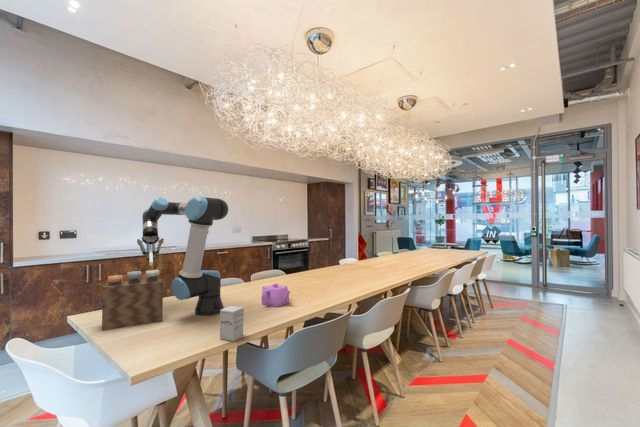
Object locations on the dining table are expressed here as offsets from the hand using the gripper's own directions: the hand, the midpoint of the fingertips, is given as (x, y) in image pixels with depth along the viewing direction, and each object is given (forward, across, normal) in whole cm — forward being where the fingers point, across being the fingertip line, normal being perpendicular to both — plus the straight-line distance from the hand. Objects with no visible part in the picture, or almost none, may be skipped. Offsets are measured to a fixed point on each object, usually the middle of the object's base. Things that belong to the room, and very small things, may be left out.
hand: (151, 263), depth 153 cm
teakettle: (+25, -67, -17) cm, 74 cm away
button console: (+20, +7, -21) cm, 30 cm away
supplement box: (+53, -29, +11) cm, 62 cm away
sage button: (+5, -1, -5) cm, 8 cm away
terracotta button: (+6, +15, -6) cm, 18 cm away
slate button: (+5, +7, -5) cm, 10 cm away
